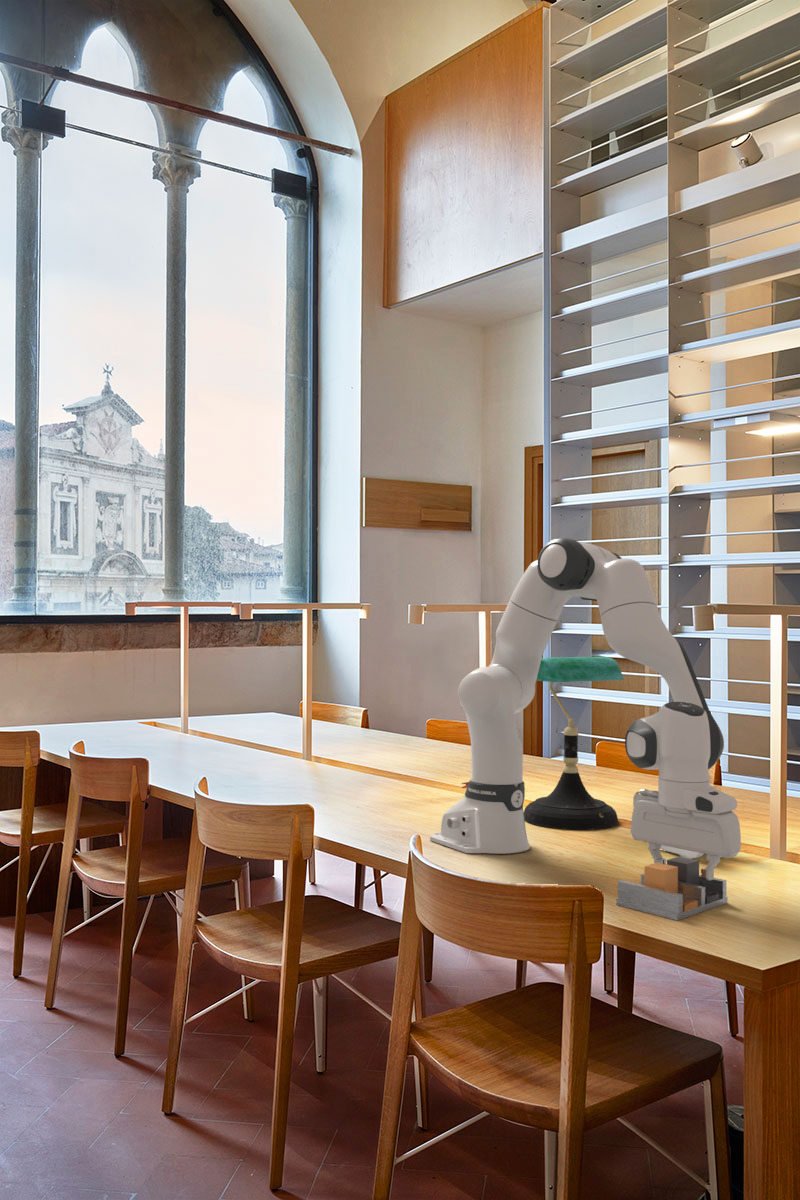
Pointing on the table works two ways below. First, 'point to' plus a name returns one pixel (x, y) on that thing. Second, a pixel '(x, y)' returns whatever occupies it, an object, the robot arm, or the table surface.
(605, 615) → the robot arm
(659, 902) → the gray divided tray
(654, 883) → the orange block
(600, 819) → the banker's lamp
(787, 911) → the table surface
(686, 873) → the dark gray block
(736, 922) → the table surface
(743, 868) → the table surface
